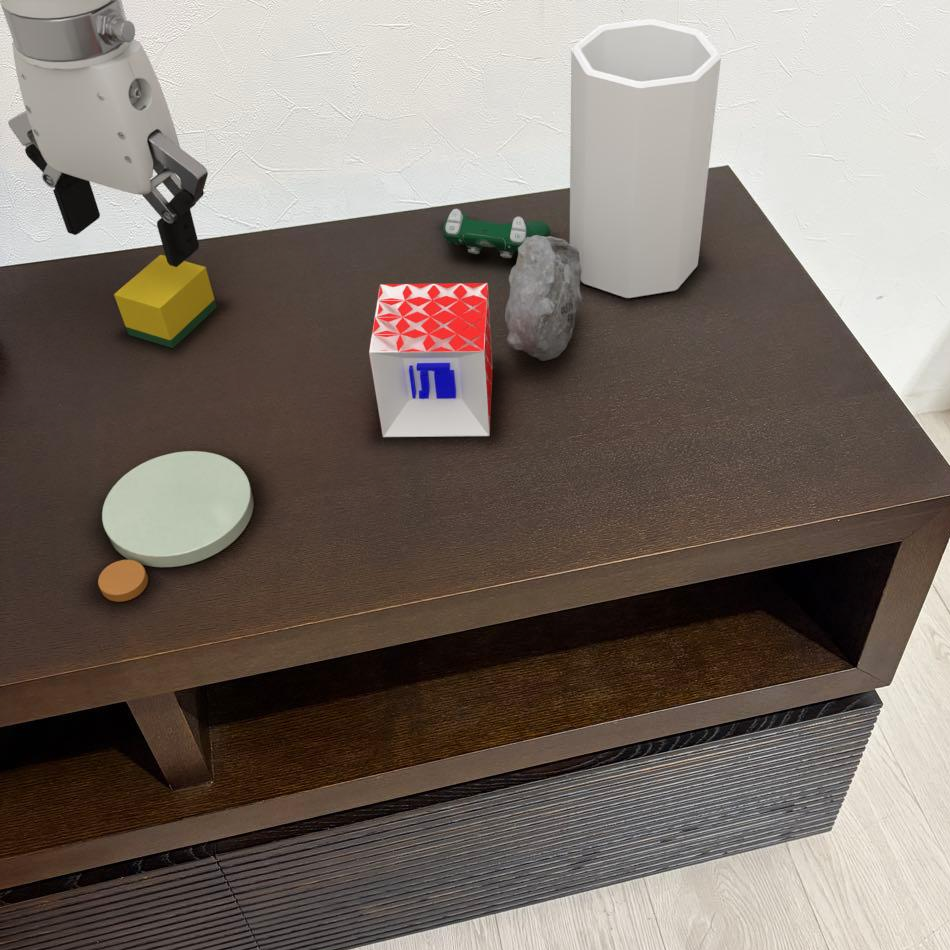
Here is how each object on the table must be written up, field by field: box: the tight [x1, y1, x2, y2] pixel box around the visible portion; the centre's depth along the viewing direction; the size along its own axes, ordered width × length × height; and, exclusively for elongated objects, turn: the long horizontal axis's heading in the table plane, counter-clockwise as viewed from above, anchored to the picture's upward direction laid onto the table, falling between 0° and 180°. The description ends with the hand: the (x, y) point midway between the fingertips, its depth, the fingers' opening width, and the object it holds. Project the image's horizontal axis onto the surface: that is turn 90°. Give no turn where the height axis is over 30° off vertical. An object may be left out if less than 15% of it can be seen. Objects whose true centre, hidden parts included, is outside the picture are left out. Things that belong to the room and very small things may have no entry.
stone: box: [504, 235, 583, 362], centre depth 84 cm, size 9×7×10 cm
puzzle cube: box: [368, 282, 494, 438], centre depth 81 cm, size 8×8×8 cm
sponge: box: [113, 254, 218, 349], centre depth 89 cm, size 6×4×4 cm
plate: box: [101, 450, 255, 568], centre depth 76 cm, size 10×10×1 cm
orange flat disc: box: [97, 559, 149, 603], centre depth 72 cm, size 3×3×1 cm
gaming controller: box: [442, 208, 552, 259], centre depth 96 cm, size 9×4×6 cm
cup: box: [569, 18, 722, 299], centre depth 89 cm, size 11×11×18 cm
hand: (133, 241), depth 87 cm, fingers open, 9 cm apart
